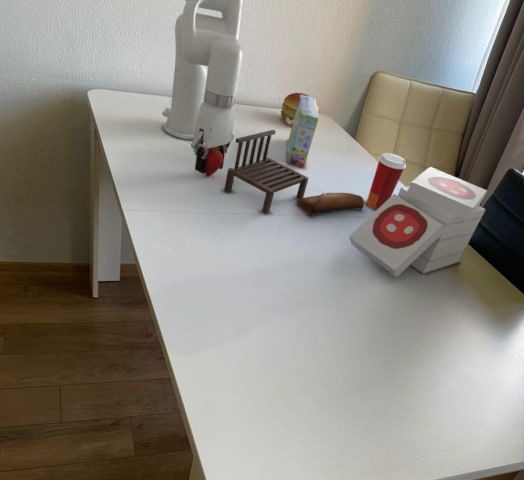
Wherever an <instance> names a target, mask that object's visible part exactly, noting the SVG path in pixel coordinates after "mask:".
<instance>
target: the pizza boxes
mask: <svg viewBox="0 0 524 480" xmlns="http://www.w3.org/2000/svg"><path fill="white" fill-rule="evenodd" d="M487 192H488V189H484V188H482V187H480V186H477V185H475V184H473V183H471V182H468V181H465V180H463V179H461V178H459V177H457V176H453V175H452V174H449V173H447V172H445V171H442V170H439V169H437V168H434V167H432V166H429V167H427V168H426V169H425V170H424V171H423V172H422V173H420V174H419V175H417V176H416V177H415V178H414V179H413V180H412V181H411V182H410V183H409V185H405V186H401V187H400V188H399V191H398V194H396V193H393V194H392V196H391V197H390V198H389V199H388V200H387V201H386V202H385V203H384V204H383V205H382V206H381V207H380V208H379V209H378V210H375V211H374V212H373V213H372V214H371V215H369V217H368V218H367V219H366V220H365V221H363V222H362V223H361V224H360V225H359V226H358V227H357V228H356V229H355V230H354V231H352V233H351V234H350V235H348V238H349V241H350V244H351V245H352V246H354V247H355V248H356V249H358V251H360V252H361V253H363V254H364V255H365V256H367V257H368V258H370V259H371V260H372V261H374V262H375V263H376V264H378V265H379V266H380V267H382V268H383V269H384V270H386V271H387V272H388V273H389V274H391V275H392V276H393V277H394V278H398V277H399V275H401V274H402V273H404V271H405V270H406V269H407V268H409V266H412V267H414V268H415V269H416V270H418V271H419V272H421V273H422V274H426V273H429V272H432V271H435V270H438V269H441V268H444V267H447V266H451V265H455V264H457V263H459V261H460V260H461V257H462V256H463V254H464V252H465V250H466V248H467V246H468V244H469V243H470V240H471V239H472V237H473V235H474V233H475V232H476V229H477V227H478V225H479V223H480V221H481V220H482V217H483V216H484V214H485V212H486V208H484V207H482V206H480V205H481V203H482V201H483V200H484V198H485V196H486V194H487Z"/></svg>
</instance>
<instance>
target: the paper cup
mask: <svg viewBox="0 0 524 480" xmlns="http://www.w3.org/2000/svg"><path fill="white" fill-rule="evenodd" d="M377 161H378V162H377V166H376V168H375V169H376V170H375V173H374V176H373V179H372V183H371V185H370V186H371V187H370V190H369V193H368V196H367V201H366V205H367V206H368V207H369V208H371V209H373V210H375V211H376V210H378V209H379V208H380V207H381V206H382V205H383V204H384V203H385V202H386V201H387V200H388V199H389V198H390V197H391V196H392V195H393V194H394V191H395V189H396V187H397V185H398V182H399V181H400V179H401V177H402V174H403V172H404V170H405V169H406V168H407V165H406V164H407V161H406V159H405V158H404V157H402V156H400V155H398V154H395V153H390V152H383V153H382V154H381V155H379V156H378V157H377Z"/></svg>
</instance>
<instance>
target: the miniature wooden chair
mask: <svg viewBox="0 0 524 480" xmlns="http://www.w3.org/2000/svg"><path fill="white" fill-rule="evenodd" d="M273 135H276V130H275V129H271V130H266V131H262V132H257V133H253V134H250V135H246V136H245V135H244V136H241V137H237V138H235V143H237V144H238V146H237V150H236V151H237V152H236V157H235V161H234V167H229V168H227V173H226V179H225V183H224V188H223V189H224V190H223V191H224V192H225V193H227V194H229V193H232V191H233V185H234V180H235V178H237V179H240V180H241V181H243V182H245V183H246V184H248V185H250V186H252V187H254V188H255V189H257V190H259V191H261V192H263V193H265V196H264V200H263V205H262V210H261V213H263V214H266V215H268V214H269V213H270V211H271V207H272V203H273V202H272V201H273V199H274V194H275V193H277V192H281V191H283V190H285V189H287V188H290V187H293V186H296V185H298V184H299V186H298V188H297V189H298V190H297V193H296V196H295V198H296V199H297V200H299V199H302V198H305V197H304V196H305V193H306V189H307V185H308V183H309V182H308V181H309V179H310V177H309V176H307V175H304V174H302V173H300V172H298V171H296V170H295V169H292V168H290V167H288V166H286V165H284V164H282V163H280V162H279V161H276V160H274V159H272V158H271V157H269V156H268V153H269V149H270V144H271V140H272V139H271V138H272V136H273ZM265 137H266V141H265ZM258 140H259V143H258ZM251 141H252V145H251ZM264 142H265V145H264ZM244 143H245V146H244ZM257 145H258V148H257ZM243 146H244V152H243ZM250 146H251V149H250ZM263 147H264V150H263ZM256 148H257V153H256ZM249 150H251V151H250V155H249ZM242 152H243V156H242ZM262 152H263V155H262ZM255 154H256V155H255ZM241 156H242V162H241V161H240V160H241ZM255 156H256V158H255ZM248 157H249V160H248ZM261 157H262V159H261ZM254 158H255V159H254ZM254 160H255V161H254ZM247 161H248V163H247ZM240 162H241V165H240Z"/></svg>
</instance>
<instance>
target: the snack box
mask: <svg viewBox="0 0 524 480" xmlns="http://www.w3.org/2000/svg"><path fill="white" fill-rule="evenodd" d="M309 96H310V95H309ZM309 96H305V95H300V97H299V101H298V105H297V109H296V113H295V117H294V121H293V125H291V129H290V133H289V135H288V139H287V140H288V142H287V143H288V144H287V145H288V164H289V165H292V166H295V167H299V168H305V166H306V162H307V159H308V155H309V152H310V149H311V145H312V142H313V139H314V135H315V132H316V128H317V125H318V121H319V112H318V111H317V106H316V102H317V100H316V98H315V97H312V96H310V97H309ZM317 112H318V113H317Z"/></svg>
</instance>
